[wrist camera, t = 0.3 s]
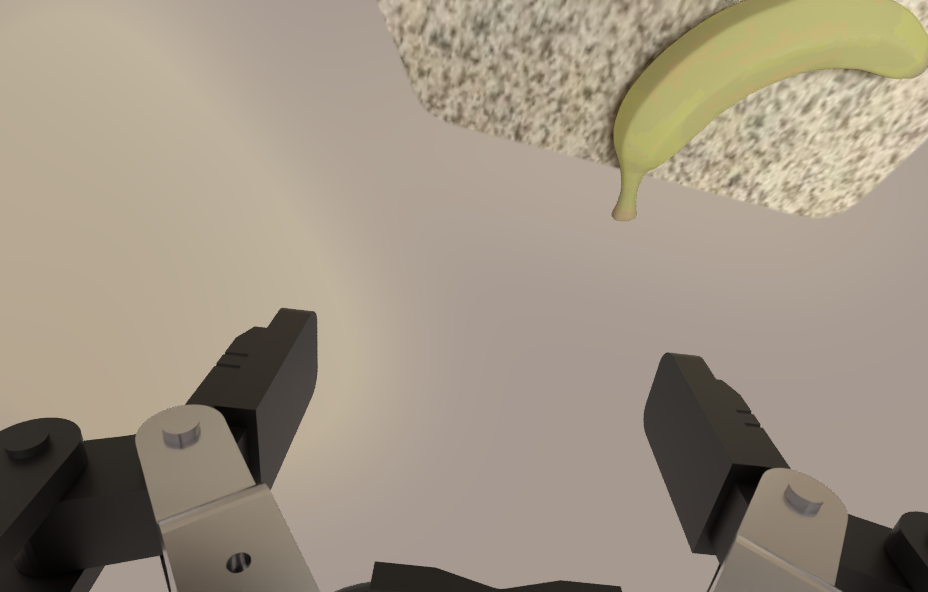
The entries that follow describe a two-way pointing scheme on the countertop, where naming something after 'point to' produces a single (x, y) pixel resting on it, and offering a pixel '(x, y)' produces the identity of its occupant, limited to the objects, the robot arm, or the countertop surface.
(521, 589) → the robot arm
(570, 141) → the countertop surface
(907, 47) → the banana
